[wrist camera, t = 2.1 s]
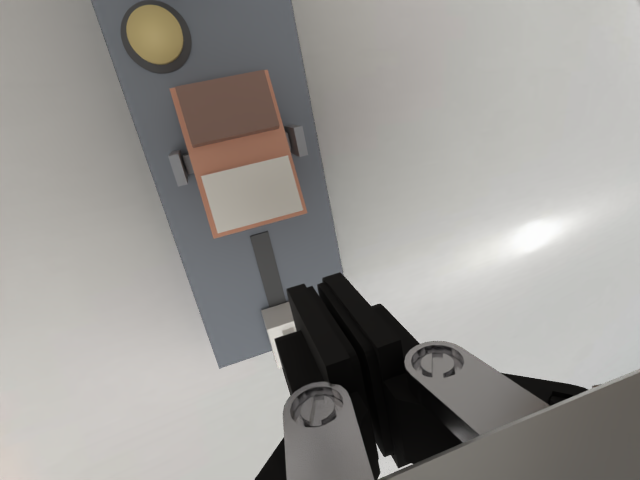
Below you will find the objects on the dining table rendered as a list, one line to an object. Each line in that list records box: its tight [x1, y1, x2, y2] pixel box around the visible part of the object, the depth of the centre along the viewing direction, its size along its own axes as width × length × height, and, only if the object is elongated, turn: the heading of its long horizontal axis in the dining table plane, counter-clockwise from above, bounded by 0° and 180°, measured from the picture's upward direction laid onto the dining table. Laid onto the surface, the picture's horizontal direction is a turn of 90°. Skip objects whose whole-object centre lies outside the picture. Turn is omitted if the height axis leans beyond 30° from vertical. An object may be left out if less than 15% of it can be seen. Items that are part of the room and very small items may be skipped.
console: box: [91, 0, 344, 369], centre depth 24 cm, size 26×10×6 cm, turn 11°
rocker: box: [169, 70, 307, 239], centre depth 21 cm, size 8×5×2 cm, turn 12°
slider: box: [261, 302, 296, 369], centre depth 26 cm, size 3×2×4 cm
